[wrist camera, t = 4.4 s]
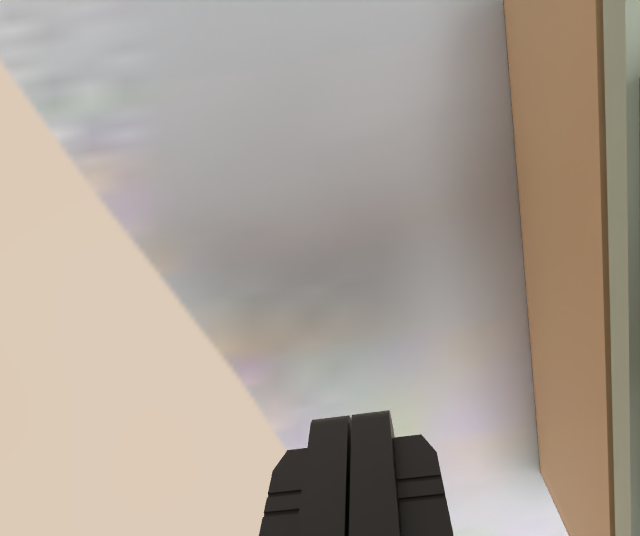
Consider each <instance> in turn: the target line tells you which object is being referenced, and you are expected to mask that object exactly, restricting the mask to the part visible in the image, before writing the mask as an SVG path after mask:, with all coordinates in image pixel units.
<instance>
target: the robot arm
mask: <svg viewBox="0 0 640 536" xmlns="http://www.w3.org/2000/svg"><path fill="white" fill-rule="evenodd" d="M259 536H453V531H452V526H451V521H450V516H449V511H448V506H447V501H446V497H445V491H444V487H443V482H442V477H441V472H440V467H439V462H438V457H437V452H436V451H435V450H434V449H433V447H432V446H431V445H430V444H429V443H428V442H427V441H426V439H425V438H424V437H423V436H422V435H413V436H404V437H396V438H395V437H394V431H393V425H392V420H391V415H390V411H389V410H388V411H380V412H372V413H364V414H356V415H352V418H350V416H341V417H333V418H325V419H317V420H312V422H311V426H310V434H309V441H308V448H303V449H295V450H287V452H286V453H285V455H284V456H283V457H282V459H281V460H280V462H279V463H278V464H277V466H276V467H275V469H274V470H273V472H272V478H271V482H270V486H269V491H268V498H267V501H266V505H265V510H264V517H263V519H262V524H261V529H260V534H259Z"/></svg>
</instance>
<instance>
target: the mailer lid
mask: <svg viewBox="0 0 640 536" xmlns="http://www.w3.org/2000/svg"><path fill="white" fill-rule="evenodd" d="M603 29H604V72H605V115H606V158H607V201H608V244H609V288H610V331H611V374H612V417H613V460H614V503H615V536H640V0H603Z"/></svg>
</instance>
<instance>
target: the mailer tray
mask: <svg viewBox="0 0 640 536" xmlns="http://www.w3.org/2000/svg"><path fill="white" fill-rule="evenodd" d="M504 13H505V25H506V38H507V51H508V64H509V77H510V89H511V102H512V115H513V128H514V141H515V153H516V166H517V179H518V192H519V205H520V217H521V230H522V243H523V256H524V269H525V281H526V294H527V307H528V320H529V333H530V345H531V358H532V371H533V384H534V396H535V409H536V422H537V435H538V448H539V460H540V473H541V475H542V477H543V480H544V482H545V484H546V486H547V488H548V491H549V493H550V495H551V497H552V499H553V502H554V504H555V506H556V508H557V510H558V513H559V515H560V517H561V519H562V521H563V524H564V526H565V528H566V530H567V532H568V535H569V536H615V503H614V460H613V417H612V374H611V331H610V288H609V244H608V201H607V158H606V115H605V72H604V29H603V0H504Z"/></svg>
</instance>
